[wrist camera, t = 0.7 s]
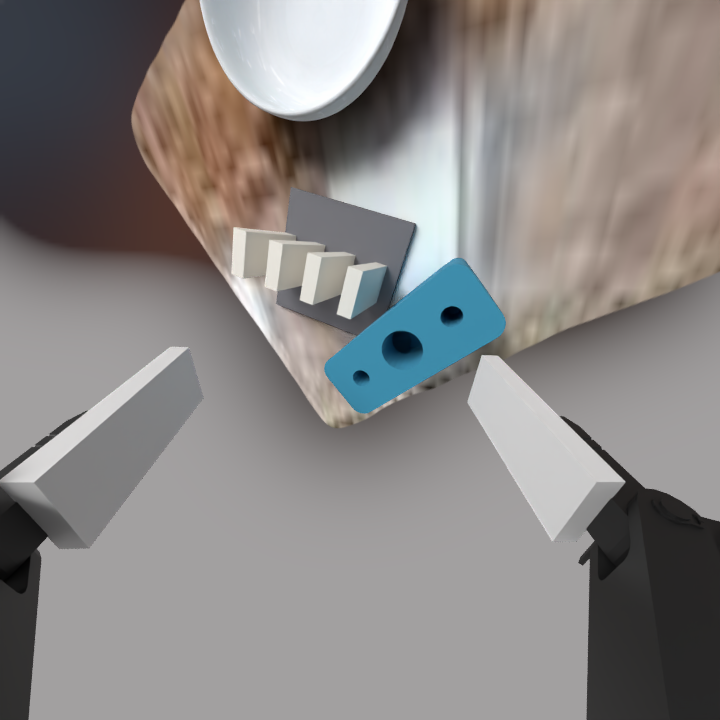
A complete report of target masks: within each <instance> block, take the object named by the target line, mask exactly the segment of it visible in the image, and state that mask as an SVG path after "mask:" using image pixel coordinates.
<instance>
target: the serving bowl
mask: <svg viewBox="0 0 720 720" xmlns="http://www.w3.org/2000/svg"><path fill="white" fill-rule="evenodd" d="M407 2H408V0H200V5H201V10H202V14H203V19H204V22H205V26H206V30H207V33H208V36H209V39H210V42H211V45H212V47H213V50H214V52H215V54H216V57H217V59H218V61H219V63H220V65H221V66H222V68H223V70H224V72H225V74H226V75H227V77H228V78H229V80H230V81H231V82H232V84H233V85H234V86H235V88H236V89H237V90H238V91H239V92H240V93H241V94H242V95H243V96H244V97H245V98H246V99H247V100H248V101H250V102H251V103H252V104H253V105H255V106H257V107H258V108H260V109H262V110H264V111H266V112H268V113H270V114H272V115H275V116H277V117H280V118H284V119H288V120H293V121H313V120H319V119H323V118H326V117H328V116H331V115H333V114H335V113H337V112H339V111H341V110H342V109H344V108H345V107H347V106H348V105H349V104H351V103H352V102H353V101H354V100H355V99H356V98H358V97H359V96H360V95H361V94H362V92H363V91H364V90H365V89H366V88H367V87H368V86H369V84H370V83H371V82H372V80H373V79H374V78H375V76H376V75H377V73H378V72H379V70H380V69H381V67H382V65H383V64H384V62H385V60H386V58H387V56H388V54H389V52H390V50H391V48H392V46H393V43H394V41H395V39H396V36H397V34H398V31H399V28H400V25H401V22H402V19H403V16H404V13H405V9H406V5H407Z"/></svg>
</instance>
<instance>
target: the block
mask: <svg viewBox="0 0 720 720" xmlns="http://www.w3.org/2000/svg"><path fill="white" fill-rule="evenodd" d="M505 325H506V321H505V317H504V316H503V314H502V312H501V311H500V309H499V308H498V306H497V305H496V303H495V302H494V300H493V299H492V297H491V296H490V294H489V293H488V291H487V290H486V289H485V287H484V286H483V284H482V283H481V281H480V280H479V279H478V277H477V276H476V275H475V273H474V272H473V270H472V269H471V268H470V266H469V265H468V264H467V262H466V261H465V260H464V259H462V258H455V259H453V260H451V261H450V262H449V263H447V264H446V265H444V266H443V267H442V268H440V269H439V270H438V271H437V272H435V273H434V274H433V275H432V276H430V277H429V278H428V279H427V280H425V281H424V282H423V283H421V284H420V285H419V286H418V287H416V288H415V289H414V290H413V291H411V292H410V293H409V294H408V295H406V296H405V297H404V298H403V299H401V300H400V301H399V302H398V303H396V304H395V305H394V306H393V307H392V308H390V309H389V310H388V311H387V312H385V313H384V314H383V315H382V316H381V317H379V318H378V319H377V320H376V321H375V322H373V323H372V324H371V325H370V326H369V327H367V328H366V329H365V330H364V331H363V332H361V333H360V334H359V335H358V336H357V337H355V338H354V339H353V340H352V341H351V342H350V343H348V344H347V345H346V346H345V347H344V348H342V349H341V350H340V351H339V352H338V353H336V354H335V355H334V356H333V357H332V358H330V359H329V360H328V361H327V362H326V364H325V368H324V369H325V374H326V376H327V377H328V378H329V380H330V381H331V382H332V383H333V384H334V386H335V387H336V388H337V389H338V391H339V392H340V393H341V394H342V395H343V397H344V398H345V399H346V400H347V402H348V403H349V404H350V405H351V406H352V408H353V409H354V410H356V411H357V412H360V413H369V412H371V411H373V410H374V409H376V408H378V407H379V406H381V405H383V404H385V403H386V402H388V401H390V400H391V399H393V398H395V397H397V396H398V395H400V394H402V393H403V392H405V391H407V390H409V389H410V388H412V387H414V386H415V385H417V384H419V383H421V382H422V381H424V380H426V379H427V378H429V377H431V376H433V375H434V374H436V373H438V372H439V371H441V370H443V369H445V368H446V367H448V366H450V365H451V364H453V363H455V362H457V361H458V360H460V359H462V358H463V357H465V356H467V355H469V354H470V353H472V352H474V351H475V350H477V349H479V348H481V347H482V346H484V345H486V344H487V343H489V342H491V341H493V340H494V339H496V338H497V337H499V336H500V335H501V334H502V333H503V331H504V329H505Z"/></svg>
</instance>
